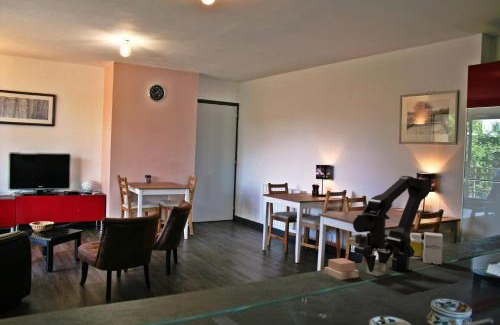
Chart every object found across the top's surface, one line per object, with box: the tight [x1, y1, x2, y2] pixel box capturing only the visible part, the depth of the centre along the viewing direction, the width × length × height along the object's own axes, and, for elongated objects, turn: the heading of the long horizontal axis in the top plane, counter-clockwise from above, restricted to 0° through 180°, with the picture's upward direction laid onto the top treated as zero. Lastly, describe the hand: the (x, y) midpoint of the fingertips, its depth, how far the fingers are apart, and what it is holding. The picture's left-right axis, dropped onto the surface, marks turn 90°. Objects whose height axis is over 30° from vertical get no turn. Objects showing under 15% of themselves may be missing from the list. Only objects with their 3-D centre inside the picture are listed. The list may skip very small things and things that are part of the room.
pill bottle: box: [409, 232, 424, 260], centre depth 191 cm, size 6×6×11 cm
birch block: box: [323, 266, 360, 281], centre depth 158 cm, size 9×9×3 cm
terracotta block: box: [327, 257, 356, 272], centre depth 158 cm, size 7×7×3 cm
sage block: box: [365, 260, 387, 277], centre depth 161 cm, size 5×5×4 cm
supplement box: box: [422, 231, 444, 266], centre depth 183 cm, size 7×7×13 cm
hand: (375, 271), depth 161 cm, fingers closed on sage block, 5 cm apart
